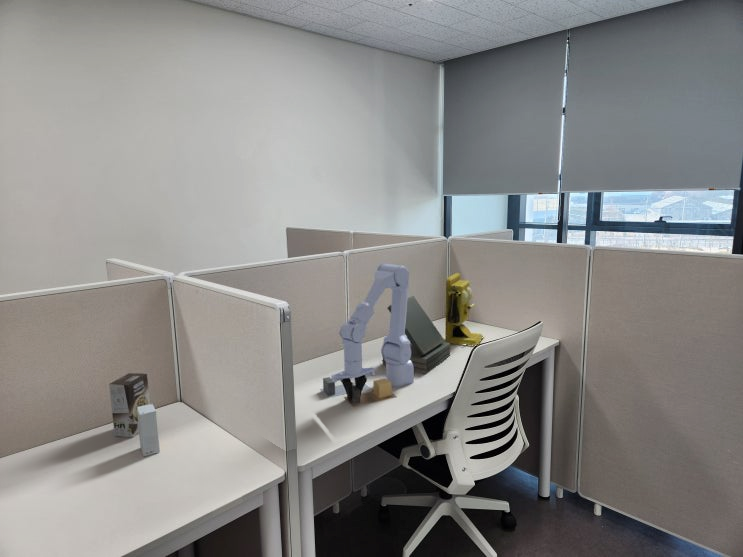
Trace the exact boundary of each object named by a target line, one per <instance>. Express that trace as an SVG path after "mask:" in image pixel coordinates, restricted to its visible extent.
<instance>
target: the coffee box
mask: <svg viewBox="0 0 743 557" xmlns="http://www.w3.org/2000/svg"><path fill="white" fill-rule="evenodd" d="M108 386H109V395H110V402H111V403H110V404H111V414H112V423H113V424H112V425H113V431H114V432H113V433H114V437H124V438H134V437H136V436H137V435H139V426H138V416H137V407H139V406H144V405H149V404H151V401H150V392H149V391H150V390H149V381H148V374H147V373H140V372H139V373H136V372H135V373H133V372H130V373H126V374H124V375H123V376H121V377H119V378H118V379H116V380H114V381H112V382H110V383H109V384H108Z"/></svg>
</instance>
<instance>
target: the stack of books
mask: <svg viewBox="0 0 743 557" xmlns="http://www.w3.org/2000/svg"><path fill="white" fill-rule="evenodd" d="M391 305H392V304H390V305H388V307H387V310H388V312H389V313H390V314H391ZM405 336H406V338H407V339H408V340H409V341H410V348H411V357H410V359H409V360H411V362H412V364H413V367H414V372H415V373H418V374H419V373H420V374H425V375H427V374H428V373H430V372H431V371H433V370H434V369H435V368H436V366H437V367H438V366H440V365H441V364H442V363H444V362H445V361H446V360H448V359H449V358H450V357H451V344H450V343H447V342H445V339H444V337H443V336H442V334H441V333H440V331H439V330H438V328H437V327H436V326H435V324H434V323H433V321H432V320H431V319H430V317H429V316H428V314H427V313H426V312H425V310H424V309H423V307H422V306H421V304H420V303H419V302H418V300H417V299H416V298H415V296H414V295H412V296H408V298H407V311H406V324H405ZM449 356H450V357H449ZM381 357H382V360H381V362H382V366H385V367H386V361H385V358H384V357H383V356H382V355H381ZM448 357H449V358H448ZM447 358H448V359H447ZM444 360H445V361H444ZM440 363H441V364H440Z"/></svg>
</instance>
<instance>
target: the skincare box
mask: <svg viewBox="0 0 743 557" xmlns="http://www.w3.org/2000/svg"><path fill="white" fill-rule="evenodd" d="M137 416H138V426H139V433H138V435H139V445H140V450H141V452H142V455H143V457H148V456H151V455H154V454H157V453H158V454H159V453H160V451H161V450H160V440H159V437H160V436H159V428H158V418H157V411H156V409H155V406H154V404H153V403H150V404H149V405H144V406H139V407H137Z"/></svg>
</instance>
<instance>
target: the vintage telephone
mask: <svg viewBox="0 0 743 557" xmlns="http://www.w3.org/2000/svg"><path fill="white" fill-rule="evenodd" d="M472 297H473V290H472V288H471V287H470V281H469V280H462V279H461V274H460V273H459V272H456V273H454V274H452V275H451V276H448V277H447V278H446V280H445V335H444V336H445V339H444V340H445V341H444V342H447V343H455V344H454V345H456V344H458V345H457V346H459V347H460V348H465V347H469V346H468V345H473V346H475V345H477V344H478V345H479V344H480V343H481V342H480V340H481V339H482V337H483V336H484V335H483V334H481V333H476V332H475V333H474V332H471V331H470V329H469V328H468V327H467V326H466V325H465V324H463V323H464V322H465V321H467V319H469V315H470V309H472V307H474V306H475V305H476V304H475V303H472V304H470V301H471V300H472ZM482 340H483V339H482ZM482 340H481V341H482ZM479 342H480V343H479ZM459 344H466V346H464V345H463V346H462V345H459ZM478 345H477V346H478Z"/></svg>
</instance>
